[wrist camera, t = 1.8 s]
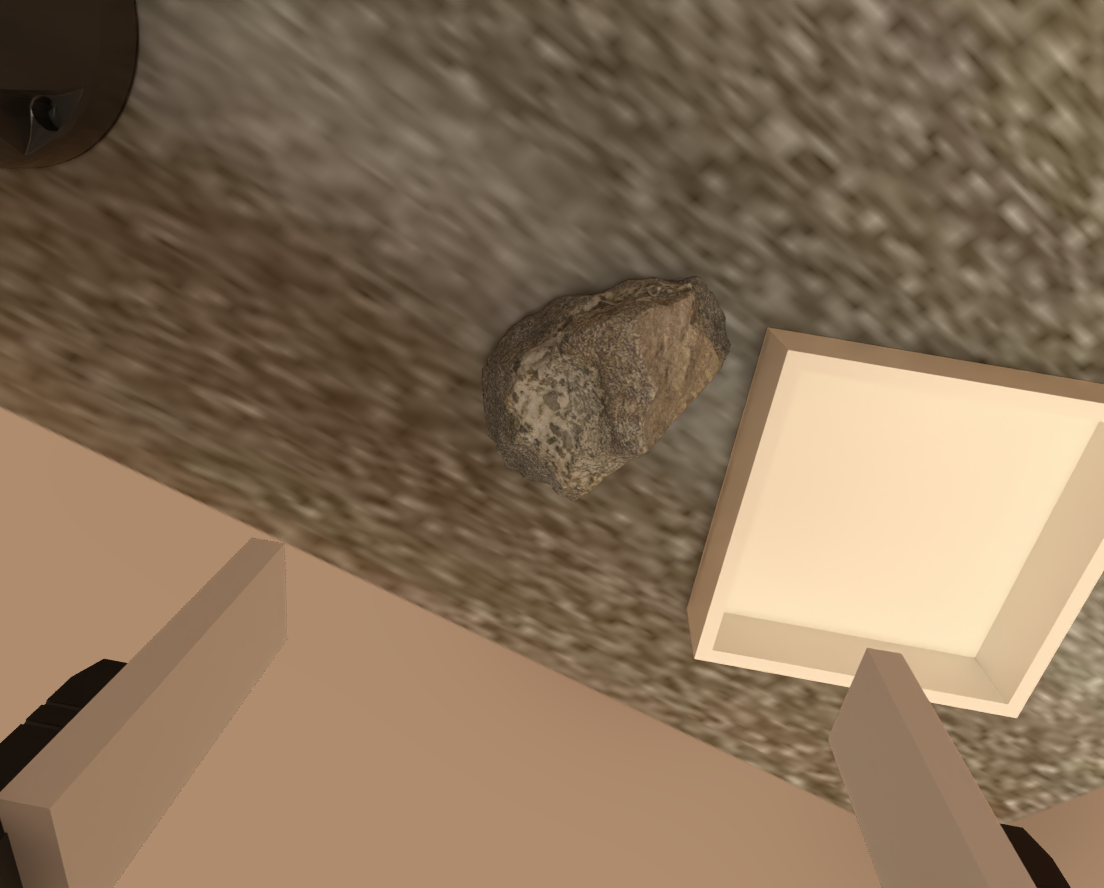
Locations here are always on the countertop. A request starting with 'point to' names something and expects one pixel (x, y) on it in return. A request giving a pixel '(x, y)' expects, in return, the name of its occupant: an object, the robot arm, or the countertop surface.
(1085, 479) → the dish
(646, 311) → the rock
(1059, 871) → the robot arm
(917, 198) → the countertop surface
